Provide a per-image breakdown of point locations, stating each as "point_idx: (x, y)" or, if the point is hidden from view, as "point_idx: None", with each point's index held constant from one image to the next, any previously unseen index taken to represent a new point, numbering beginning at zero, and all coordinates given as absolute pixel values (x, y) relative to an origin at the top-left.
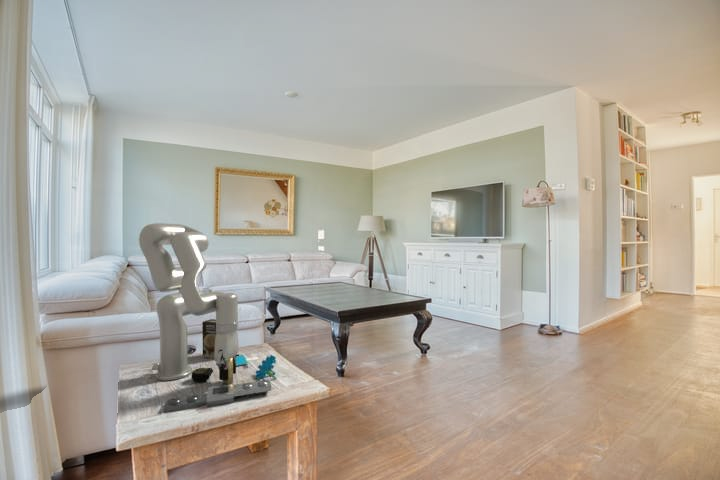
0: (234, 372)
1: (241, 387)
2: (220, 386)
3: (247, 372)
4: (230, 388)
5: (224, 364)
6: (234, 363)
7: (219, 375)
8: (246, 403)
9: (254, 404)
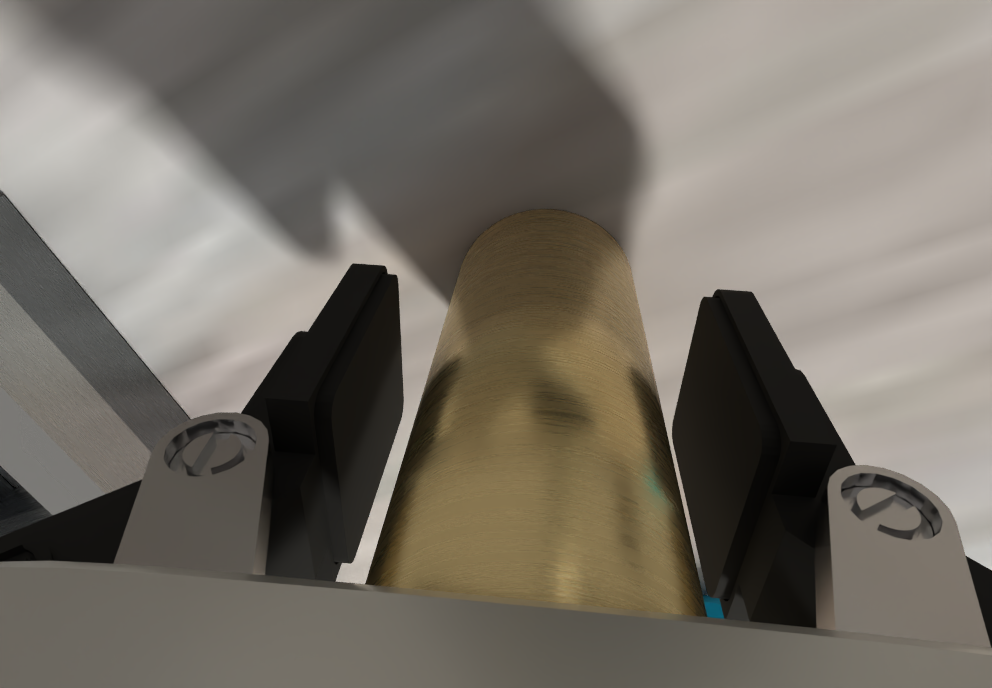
0: (677, 441)
1: None
2: (9, 439)
3: (986, 444)
4: None
5: (373, 560)
6: (731, 600)
7: (329, 303)
8: None
9: None
